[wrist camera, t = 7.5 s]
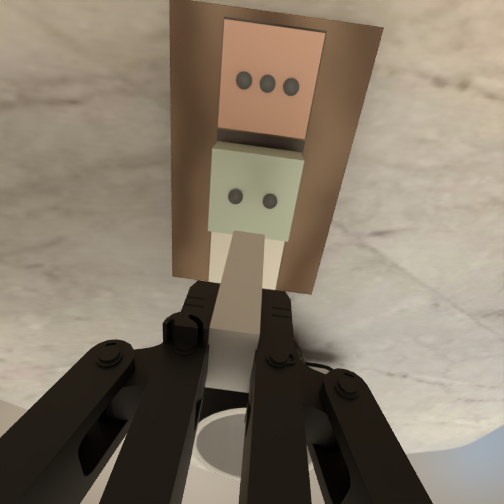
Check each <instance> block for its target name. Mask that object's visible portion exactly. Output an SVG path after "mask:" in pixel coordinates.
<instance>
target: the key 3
mask: <svg viewBox="0 0 504 504" xmlns="http://www.w3.org/2000/svg"><path fill="white" fill-rule="evenodd" d="M324 38H325V33H320V32H313V31H306V30H299V29H292V28H284V27H277V26H270V25H263V24H256V23H249V22H242V21H234V20H227V19H224V32H223V49H222V66H221V82H220V99H219V115H218V127H220V128H228V129H235V130H242V131H250V132H257V133H264V134H272V135H279V136H286V137H294V138H301V139H305V135H306V130H307V125H308V120H309V115H310V110H311V105H312V100H313V95H314V89H315V84H316V79H317V74H318V69H319V64H320V59H321V54H322V49H323V43H324Z"/></svg>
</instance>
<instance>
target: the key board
mask: <svg viewBox="0 0 504 504" xmlns="http://www.w3.org/2000/svg"><path fill="white" fill-rule="evenodd" d="M224 19H227V20H234V21H242V22H249V23H256V24H263V25H270V26H277V27H284V28H292V29H299V30H306V31H313V32H320V33H325V38H324V43H323V49H322V54H321V59H320V64H319V69H318V74H317V79H316V84H315V89H314V95H313V100H312V105H311V110H310V115H309V120H308V125H307V130H306V135H305V139H301V138H294V137H286V136H279V135H272V134H264V133H257V132H250V131H242V130H235V129H228V128H220V127H218V115H219V99H220V82H221V66H222V49H223V32H224ZM383 29H384V28H383V27H376V26H369V25H362V24H355V23H348V22H341V21H333V20H326V19H319V18H312V17H305V16H298V15H291V14H284V13H276V12H269V11H262V10H255V9H248V8H241V7H234V6H227V5H219V4H212V3H205V2H198V1H191V0H170V88H171V182H172V276H173V277H180V278H188V279H196V280H203V281H209V265H210V248H211V231H208V218H209V200H210V181H211V162H212V148H213V147H214V145H215V144H216V143H217V141H221V142H229V143H236V144H243V145H251V146H258V147H266V148H273V149H280V150H288V151H295V152H301V153H302V155H303V158H304V165H303V170H302V175H301V180H300V185H299V190H298V195H297V200H296V205H295V210H294V215H293V220H292V224H291V229H290V234H289V239H288V242H287V241H285V243H284V248H283V253H282V258H281V263H280V268H279V274H278V279H277V284H276V289H275V290H280V291H288V292H295V293H303V294H311V295H312V291H313V287H314V283H315V280H316V276H317V272H318V269H319V265H320V261H321V258H322V254H323V250H324V247H325V243H326V239H327V235H328V232H329V228H330V224H331V221H332V217H333V213H334V210H335V206H336V202H337V199H338V195H339V191H340V187H341V184H342V180H343V176H344V173H345V169H346V165H347V162H348V158H349V154H350V150H351V147H352V143H353V139H354V136H355V132H356V128H357V125H358V121H359V117H360V114H361V110H362V106H363V102H364V99H365V95H366V91H367V88H368V84H369V80H370V77H371V73H372V69H373V66H374V62H375V58H376V54H377V51H378V47H379V43H380V40H381V36H382V32H383Z"/></svg>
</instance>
